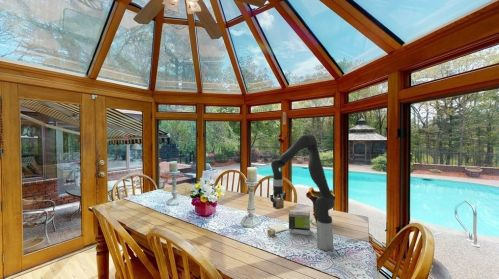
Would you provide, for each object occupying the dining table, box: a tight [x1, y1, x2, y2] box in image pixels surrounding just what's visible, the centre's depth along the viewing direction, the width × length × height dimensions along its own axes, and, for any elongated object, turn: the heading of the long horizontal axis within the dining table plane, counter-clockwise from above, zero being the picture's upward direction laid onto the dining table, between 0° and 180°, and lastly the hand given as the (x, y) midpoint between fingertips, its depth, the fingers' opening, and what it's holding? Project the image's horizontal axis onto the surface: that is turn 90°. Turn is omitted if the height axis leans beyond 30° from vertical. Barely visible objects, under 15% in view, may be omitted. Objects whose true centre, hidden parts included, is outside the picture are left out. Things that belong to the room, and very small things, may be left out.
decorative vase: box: [305, 186, 336, 227], centre depth 187 cm, size 21×23×28 cm
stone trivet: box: [267, 222, 289, 234], centre depth 177 cm, size 12×12×1 cm
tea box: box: [288, 209, 311, 236], centre depth 170 cm, size 15×10×15 cm
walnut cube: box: [272, 198, 285, 211], centre depth 176 cm, size 6×6×6 cm
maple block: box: [266, 228, 276, 237], centre depth 166 cm, size 4×4×4 cm
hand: (278, 206), depth 176 cm, fingers closed on walnut cube, 6 cm apart
